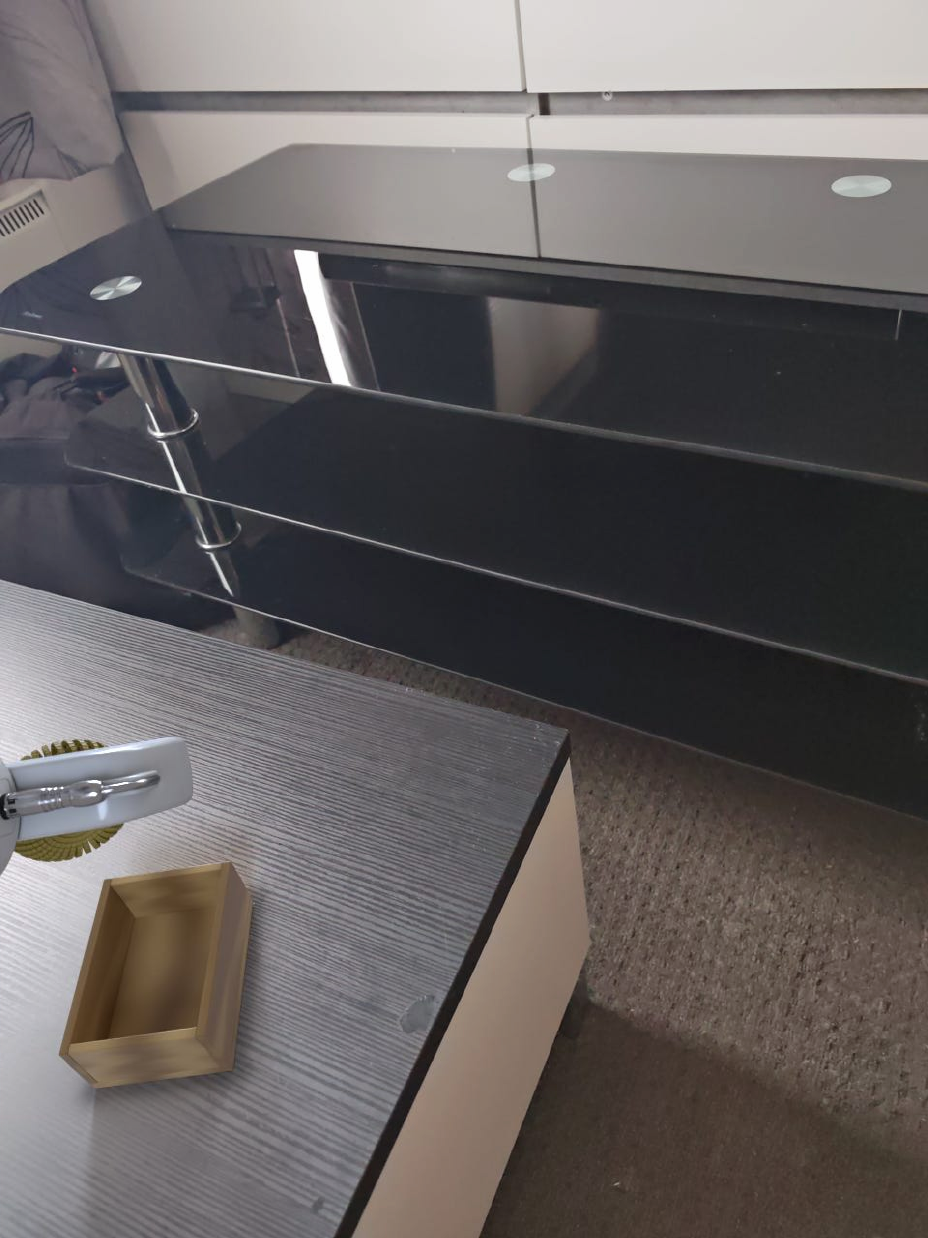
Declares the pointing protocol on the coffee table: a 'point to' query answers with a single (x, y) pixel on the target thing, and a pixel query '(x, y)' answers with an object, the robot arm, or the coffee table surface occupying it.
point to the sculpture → (71, 842)
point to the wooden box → (161, 977)
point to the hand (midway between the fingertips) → (61, 784)
